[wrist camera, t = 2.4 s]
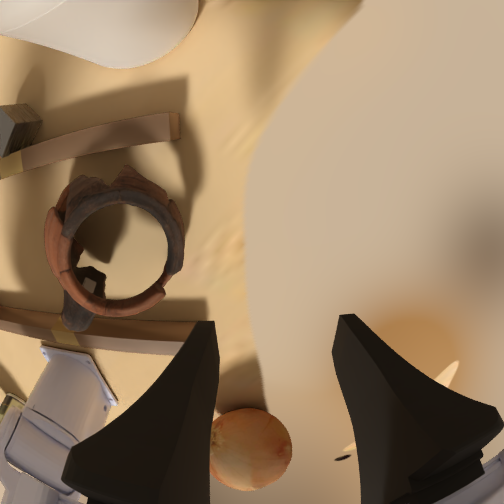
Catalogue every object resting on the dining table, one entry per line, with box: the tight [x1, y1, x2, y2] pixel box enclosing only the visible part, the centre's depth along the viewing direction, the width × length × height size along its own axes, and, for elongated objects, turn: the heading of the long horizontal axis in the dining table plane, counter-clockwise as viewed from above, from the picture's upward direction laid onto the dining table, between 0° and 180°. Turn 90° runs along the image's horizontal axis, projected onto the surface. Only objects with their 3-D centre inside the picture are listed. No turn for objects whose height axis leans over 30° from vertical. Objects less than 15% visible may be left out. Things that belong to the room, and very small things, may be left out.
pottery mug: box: [44, 165, 185, 332], centre depth 16 cm, size 12×10×8 cm
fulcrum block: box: [0, 104, 42, 158], centre depth 13 cm, size 3×3×3 cm
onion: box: [210, 408, 292, 491], centre depth 24 cm, size 10×10×10 cm
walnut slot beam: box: [0, 112, 197, 356], centre depth 17 cm, size 17×28×2 cm, turn 91°
